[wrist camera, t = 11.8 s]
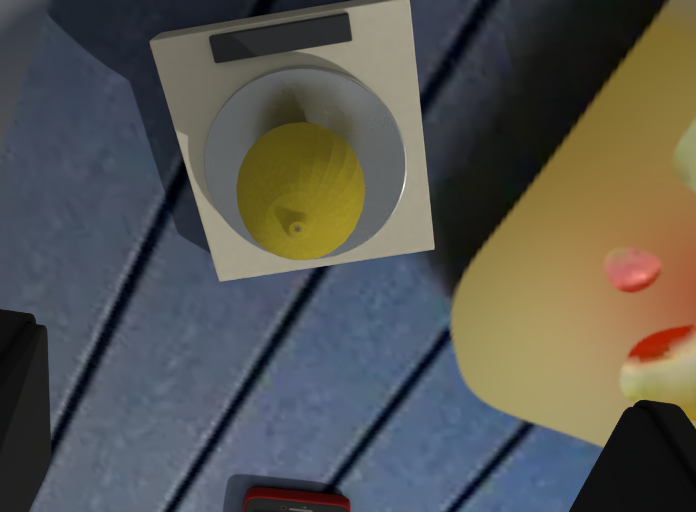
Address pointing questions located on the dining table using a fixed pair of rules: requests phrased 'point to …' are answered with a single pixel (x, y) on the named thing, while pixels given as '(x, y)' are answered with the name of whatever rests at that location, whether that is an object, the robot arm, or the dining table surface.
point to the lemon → (300, 191)
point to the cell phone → (292, 501)
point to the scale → (302, 119)
